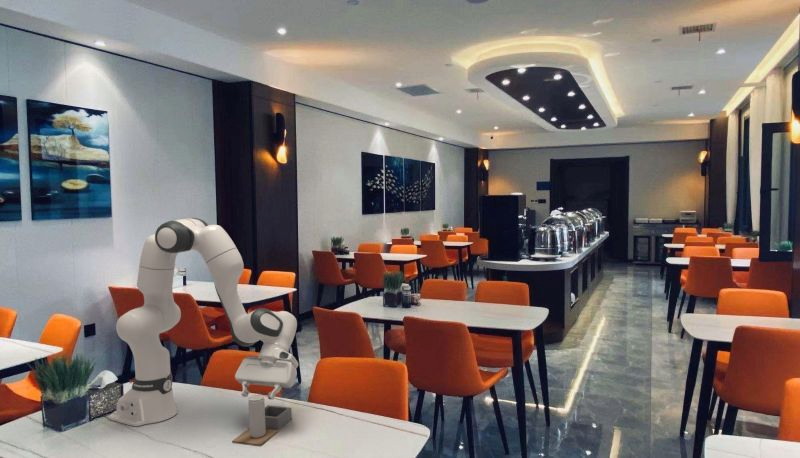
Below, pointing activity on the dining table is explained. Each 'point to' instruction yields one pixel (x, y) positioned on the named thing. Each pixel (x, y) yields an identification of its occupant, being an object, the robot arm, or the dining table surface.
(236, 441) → the coaster
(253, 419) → the beverage can
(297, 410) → the dining table surface
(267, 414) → the can holder
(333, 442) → the dining table surface
